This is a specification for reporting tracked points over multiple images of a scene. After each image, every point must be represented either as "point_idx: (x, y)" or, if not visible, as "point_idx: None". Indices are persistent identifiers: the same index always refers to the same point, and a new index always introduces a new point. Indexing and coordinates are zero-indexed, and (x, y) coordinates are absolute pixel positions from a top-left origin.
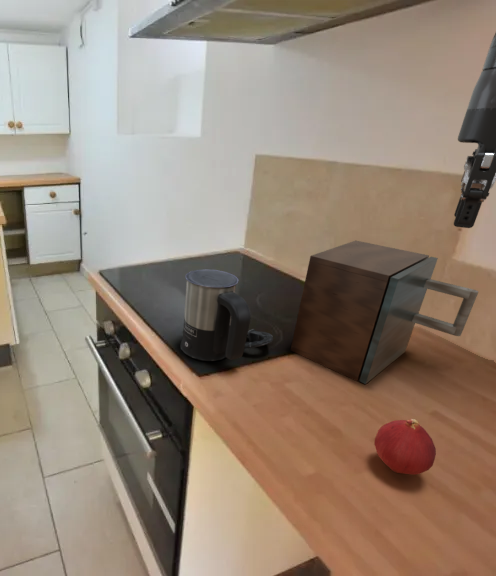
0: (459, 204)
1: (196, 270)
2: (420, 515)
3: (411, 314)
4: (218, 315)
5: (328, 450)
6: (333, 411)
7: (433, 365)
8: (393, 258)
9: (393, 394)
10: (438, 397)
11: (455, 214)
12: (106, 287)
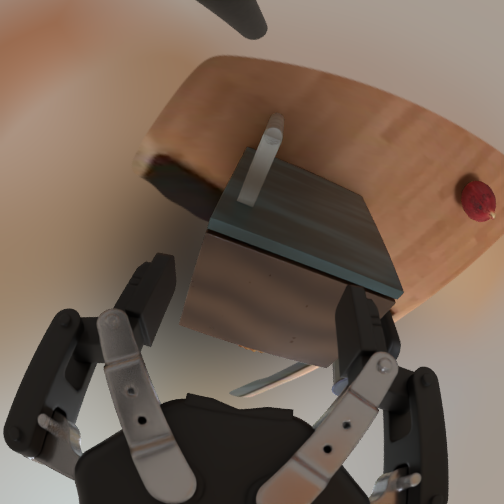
0: (162, 315)
1: (338, 395)
2: (493, 184)
3: (275, 185)
4: None
5: (457, 229)
6: (416, 225)
7: (266, 116)
8: (281, 291)
9: (368, 170)
10: (351, 125)
11: (172, 290)
12: (267, 389)
